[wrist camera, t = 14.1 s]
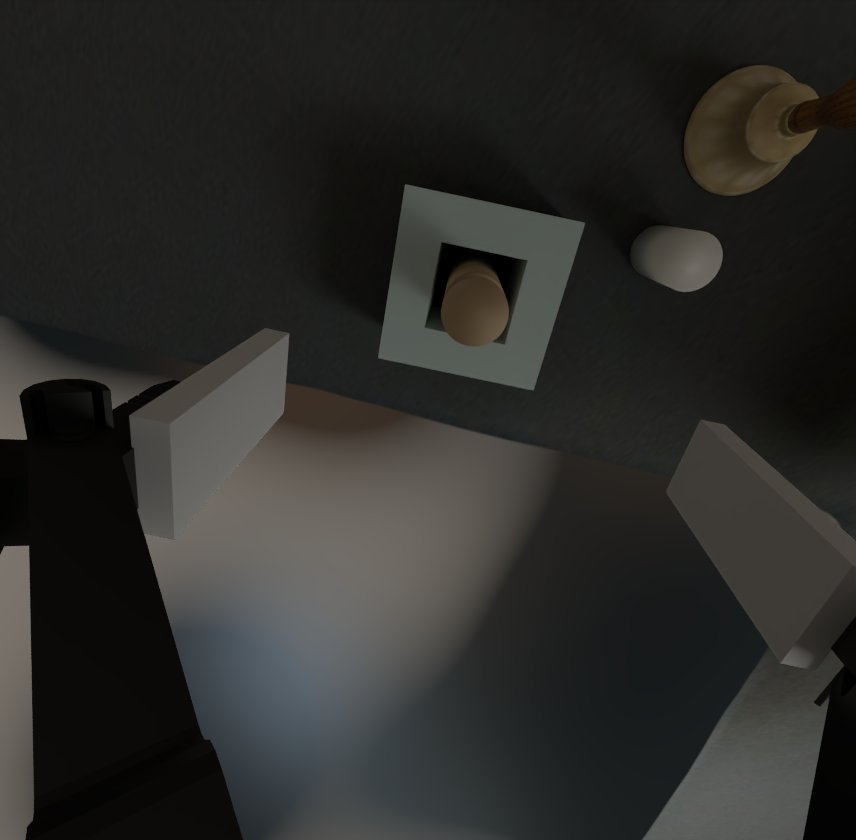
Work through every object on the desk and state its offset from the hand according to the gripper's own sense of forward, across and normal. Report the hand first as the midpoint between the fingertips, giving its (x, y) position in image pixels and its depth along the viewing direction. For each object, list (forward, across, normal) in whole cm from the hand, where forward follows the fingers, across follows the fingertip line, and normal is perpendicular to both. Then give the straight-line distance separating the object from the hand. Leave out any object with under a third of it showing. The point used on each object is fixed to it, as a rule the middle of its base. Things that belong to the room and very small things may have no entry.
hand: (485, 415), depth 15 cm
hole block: (+29, 0, 0) cm, 29 cm away
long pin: (+29, 0, 0) cm, 29 cm away
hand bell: (+29, -17, -14) cm, 36 cm away
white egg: (+29, -14, -5) cm, 32 cm away
